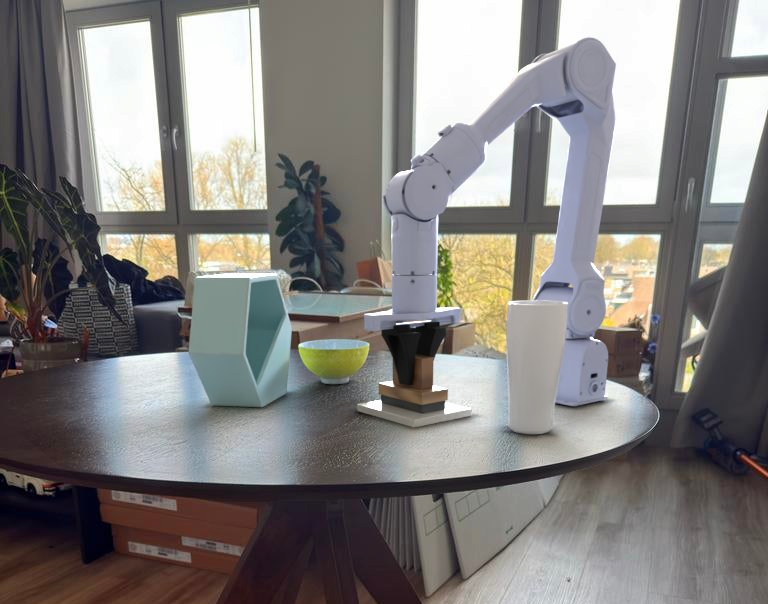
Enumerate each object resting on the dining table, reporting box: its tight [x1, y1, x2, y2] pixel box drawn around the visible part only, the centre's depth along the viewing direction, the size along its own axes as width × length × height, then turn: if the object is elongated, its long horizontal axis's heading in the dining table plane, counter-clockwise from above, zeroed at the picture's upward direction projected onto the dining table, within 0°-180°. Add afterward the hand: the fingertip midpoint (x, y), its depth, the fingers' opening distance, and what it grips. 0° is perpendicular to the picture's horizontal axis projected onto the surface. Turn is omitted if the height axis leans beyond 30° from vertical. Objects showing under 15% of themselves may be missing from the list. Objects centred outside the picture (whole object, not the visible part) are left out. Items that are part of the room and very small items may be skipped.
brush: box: [378, 354, 449, 413], centre depth 95 cm, size 9×4×7 cm, turn 38°
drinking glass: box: [505, 299, 568, 435], centre depth 85 cm, size 7×7×15 cm
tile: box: [356, 399, 473, 428], centre depth 97 cm, size 12×10×1 cm
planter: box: [188, 273, 293, 408], centre depth 102 cm, size 17×8×21 cm
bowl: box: [298, 338, 370, 385], centre depth 118 cm, size 11×12×6 cm
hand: (413, 383), depth 95 cm, fingers closed on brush, 2 cm apart
